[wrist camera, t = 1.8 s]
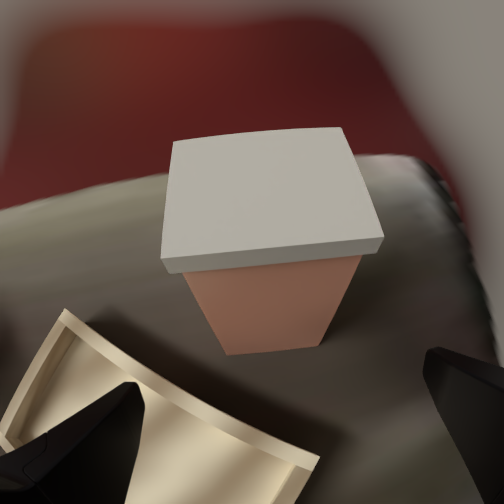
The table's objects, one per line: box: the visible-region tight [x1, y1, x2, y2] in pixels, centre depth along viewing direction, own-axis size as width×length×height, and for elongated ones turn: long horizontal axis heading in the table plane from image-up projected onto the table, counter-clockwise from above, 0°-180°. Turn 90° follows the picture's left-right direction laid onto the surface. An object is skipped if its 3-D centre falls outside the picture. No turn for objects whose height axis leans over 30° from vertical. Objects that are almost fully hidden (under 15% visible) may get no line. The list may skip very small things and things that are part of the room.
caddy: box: [161, 127, 384, 355], centre depth 17 cm, size 6×7×14 cm
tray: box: [0, 309, 320, 504], centre depth 16 cm, size 20×13×3 cm, turn 63°
